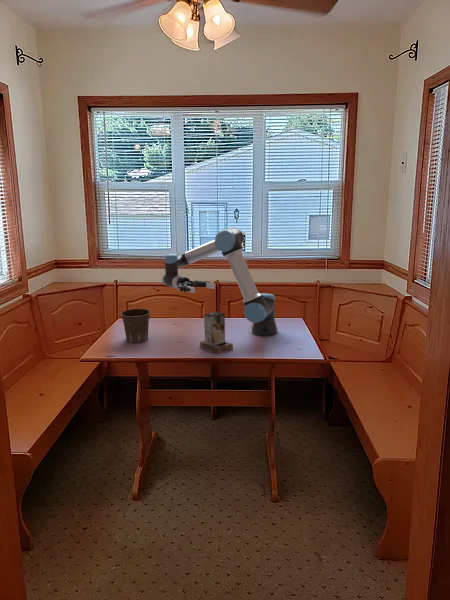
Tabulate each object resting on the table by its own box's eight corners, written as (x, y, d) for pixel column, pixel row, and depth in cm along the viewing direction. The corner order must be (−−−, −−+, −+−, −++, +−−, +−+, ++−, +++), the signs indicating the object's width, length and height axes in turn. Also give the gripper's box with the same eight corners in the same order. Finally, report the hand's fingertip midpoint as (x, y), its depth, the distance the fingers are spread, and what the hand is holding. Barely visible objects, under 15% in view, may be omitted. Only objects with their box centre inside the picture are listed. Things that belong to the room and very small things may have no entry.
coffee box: (218, 339, 239) (218, 311, 235) (225, 342, 234) (225, 313, 230) (204, 343, 234) (203, 313, 230) (211, 346, 229) (210, 316, 225)
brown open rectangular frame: (215, 342, 244) (215, 337, 243) (233, 349, 233) (233, 343, 232) (199, 346, 237) (198, 341, 236) (217, 354, 226) (217, 348, 225)
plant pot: (145, 345, 240) (143, 316, 236) (117, 343, 243) (115, 315, 240) (155, 336, 256) (154, 309, 252) (129, 334, 259) (128, 308, 255)
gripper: (198, 286, 263) (222, 291, 248) (163, 292, 247) (186, 299, 232) (198, 273, 261) (221, 278, 246) (163, 279, 246) (185, 285, 230)
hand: (204, 288), depth 239 cm, fingers open, 13 cm apart
